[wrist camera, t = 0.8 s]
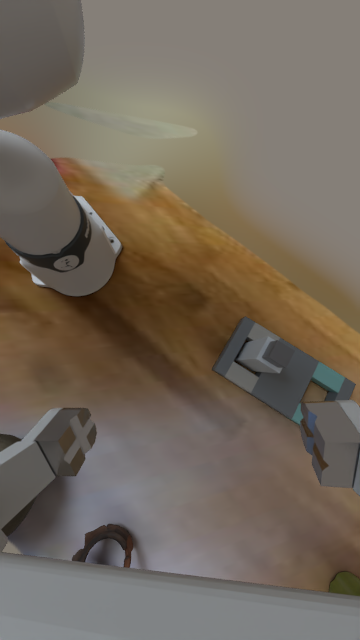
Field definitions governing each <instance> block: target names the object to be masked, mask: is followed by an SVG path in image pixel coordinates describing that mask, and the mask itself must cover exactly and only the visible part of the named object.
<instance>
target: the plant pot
mask: <svg viewBox="0 0 360 640" xmlns="http://www.w3.org/2000/svg"><path fill="white" fill-rule="evenodd" d="M329 593H337V594H346V595H354V596H360V579H359V578H357V577H356V576H355V575H354V574H352V573H349V572H340V573H338V574H337V575H336V578H335V579H334V580H333V581H332V582H331V584H330V588H329Z"/></svg>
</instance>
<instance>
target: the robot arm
mask: <svg viewBox="0 0 360 640" xmlns="http://www.w3.org/2000/svg"><path fill="white" fill-rule="evenodd" d="M84 39H85V38H84V20H83V12H82V6H81V0H0V119H1V118H5V117H9V116H13V115H17V114H21V113H25V112H29V111H32V110H34V109H36V108H38V107H39V106H41V105H43V104H45V103H47V102H49V101H50V100H52V99H54V98H55V97H57V96H58V95H60V94H62V93H63V92H65V91H67V90H68V89H70V88H71V87H73V86H74V85H76V84H77V83H78V80H79V77H80V73H81V69H82V64H83V57H84ZM0 237H1V238H2V239H3V240H4V241H5V242H6V244H7V245H8V246H9V247H10V248H11V249H12V250H13V251H14V252H15V253H16V254H17V255H18V256H20V264H21V265H22V266H23V267H24V268H26V269H27V270H28V271H29V272H30V273H31V275H32V280H33V282H34V283H35V284H36V285H38V286H41V287H50V288H53V289H55V290H56V291H58V292H60V293H62V294H65V295H69V296H84V295H88V294H91V293H93V292H95V291H97V290H99V289H100V288H101V287H103V286H104V285H105V284H106V283H107V281H108V280H109V279H110V277H111V275H112V273H113V270H114V266H115V260H116V258H117V256H118V255H119V253H120V252H121V250H122V245H121V243H120V241H119V240H118V239H117V238H116V236H115V235H114V234H113V233H112V232H111V230H110V229H109V228H108V227H107V225H106V224H105V223H104V222H103V221H102V219H101V218H100V217H99V216H98V215H97V213H96V212H95V211H94V210H93V208H92V207H91V206H90V205H89V204H88V202H87V201H86V200H85V199H84V198H83V197H81V196H74V195H73V194H72V193H71V192H70V191H69V189H68V188H67V186H66V184H65V182H64V181H63V179H62V177H61V175H60V174H59V172H58V170H57V168H56V166H55V165H54V163H53V162H52V161H51V159H50V158H49V157H48V156H47V155H46V154H45V153H43V151H41V150H40V149H39V148H38V147H36V146H35V145H34V144H32V143H31V142H30V141H28V140H26V139H25V138H23V137H20V136H18V135H16V134H13V133H10V132H7V131H3V130H0ZM112 241H114V243H111V242H112ZM301 413H302V415H303V417H304V418H303V419H302V420H301V421H300V430H301V437H302V440H303V443H304V446H305V449H306V451H307V452H308V453H310V454H311V455H312V466H313V468H314V471H315V473H316V475H317V478H318V480H319V483H320V485H321V486H329V487H344V488H353V490H354V491H355V492H356V493H357V494H358V495H359V496H360V407H359V405H358V404H357V403H356V402H355V401H353V400H338V401H315V402H302V404H301ZM90 416H91V414H90V412H89V410H88V409H87V408H53V409H51V410H49V411H48V412H47V413H46V414H45V415H44V416H43V417H42V419H41V420H40V421H39V422H38V423H37V424H36V425H35V426H34V427H33V428H32V430H31V431H30V432H29V433H28V434H27V435H26V436H25V437H24V438H23V439H22V441H21V442H16V443H14V444H13V445H11V446H9V447H8V448H6V449H4V450H3V451H1V452H0V640H360V596H354V595H346V594H337V593H329V592H321V591H313V590H305V589H297V588H289V587H281V586H273V585H264V584H256V583H248V582H240V581H232V580H224V579H216V578H208V577H199V576H191V575H183V574H175V573H167V572H159V571H151V570H143V569H135V568H126V567H118V566H110V565H102V564H94V563H86V562H78V561H69V560H61V559H53V558H45V557H37V556H29V555H20V554H11V553H4V552H2V550H3V549H4V547H5V546H6V544H7V539H8V538H7V536H6V535H5V534H4V533H3V531H2V530H1V529H2V528H3V527H4V526H5V525H6V524H7V523H8V522H9V521H10V520H11V519H12V518H13V517H14V516H15V515H17V514H18V513H19V512H20V511H21V510H22V509H23V508H24V507H25V506H26V505H27V504H28V503H29V502H30V501H31V500H32V499H33V498H35V497H36V496H37V495H38V494H39V493H40V492H41V491H42V490H43V489H44V488H45V487H46V486H47V485H48V484H49V483H50V482H51V481H53V480H54V479H55V476H76V475H77V473H78V471H79V470H80V468H81V466H82V464H83V463H84V461H85V453H86V452H87V451H89V450H90V449H91V448H92V446H93V444H94V442H95V439H96V434H97V432H96V426H95V424H94V423H93V422H92V421H91V420H90Z"/></svg>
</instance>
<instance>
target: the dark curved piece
mask: <svg viewBox="0 0 360 640" xmlns="http://www.w3.org/2000/svg"><path fill="white" fill-rule="evenodd" d="M105 538H110V539H114V540H116V541H117V542H118V543H119V544H120V545H121V547H122V548H123V550H125V556H126V558H125V560H124V567H126V568H130V563H131V551H132V550H133V542H132V539H131V536H130V534H129V533H128V531H126V530H125V529H124V528H122V527H120V526H117V525H113V524H108V525H107V527H106V526H105V525H103V526H101V527H99V528H97V529H96V530H94V531H91V532H88V533H86V534H85V546H84V549H80V550H79V551H78V552H77V553H76V554H75V555H74V556H73V558H72V561H78V562H85V559H86V557H87V555H88V552H89V550H90V549H91V548H92V547H93V546H94V545H95V544H96V543H97V542H98V541H100V540H102V539H105Z"/></svg>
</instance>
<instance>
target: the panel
mask: <svg viewBox="0 0 360 640" xmlns="http://www.w3.org/2000/svg"><path fill="white" fill-rule="evenodd" d="M268 336H269V337H270V338H272V339H274V340H275V341H276V340H278V341H280V342H282V343H283V344H285V345H287V346H288V347H290V348H291V349H293V350H295V352H294V354H293V356H292V358H291V360H290V362H289V364H288V366H287V368H282V370H281V372H280V373H268V372H256V374H255V375H254V374H253V373H251V372H249V371H248V370H246V369H245V368H243V367H242V366H240V365H238V364H237V363H235V362H234V359H235V358H236V356H237V354H238V352H239V351H240V349H241V347H242V345H243V343H244V342H245V340H247V341H249V342H250V341H253V340H257V339H261V338H264V337H268ZM212 370H213V371H215V372H216V373H218V374H219V375H221V376H222V377H224V378H226V379H227V380H229V381H230V382H232V383H233V384H235V385H237V386H238V387H240V388H241V389H243V390H244V391H246V392H248V393H249V394H251V395H252V396H254V397H255V398H257V399H258V400H260V401H262V402H263V403H265V404H266V405H268V406H269V407H271V408H273V409H274V410H276V411H277V412H279V413H280V414H282V415H284V416H285V417H287V418H288V419H290V420H291V421H293V422H295V423H296V424H298V425H299V426H300V421H301V420H302V419H303V418H304V417H303V415H302V413H301V404H300V401H301V399H302V397H303V395H304V393H305V391H306V388H307V386H308V384H309V382H310V380H311V381H313V382H315V383H316V384H318V385H319V386H321V387H323V388H324V389H326V390H327V391H329V392H328V394H327V396H326V398H325V401H338V400H349V399H350V396H351V394H352V392H353V389H354V387H355V385H356V384H355V383H353V382H352V381H350V380H348V379H347V378H345V377H343V376H342V375H340V374H339V373H337V372H335V371H334V370H332V369H330V368H329V367H327V366H325V365H324V364H322V363H321V362H319V361H317V360H316V359H314V358H312V357H311V356H309V355H308V354H306V353H304V352H303V351H301V350H299V349H298V348H296V347H295V346H293V345H291V344H290V343H288V342H286V341H285V340H283V339H282V338H280V337H278V336H277V335H275V334H273V333H272V332H270V331H268V330H267V329H265V328H264V327H262V326H260V325H259V324H257V323H255V322H254V321H252V320H251V319H249V318H247V317H246V316H245V317H243V318H242V319H241V320H240V322H239V323H238V325H237V327H236V329H235V330H234V332H233V334H232V336H231V337H230V339H229V341H228V342H227V344H226V346H225V348H224V349H223V351H222V353H221V354H220V356H219V358H218V360H217V361H216V363H215V365H214V366H213V368H212Z"/></svg>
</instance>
